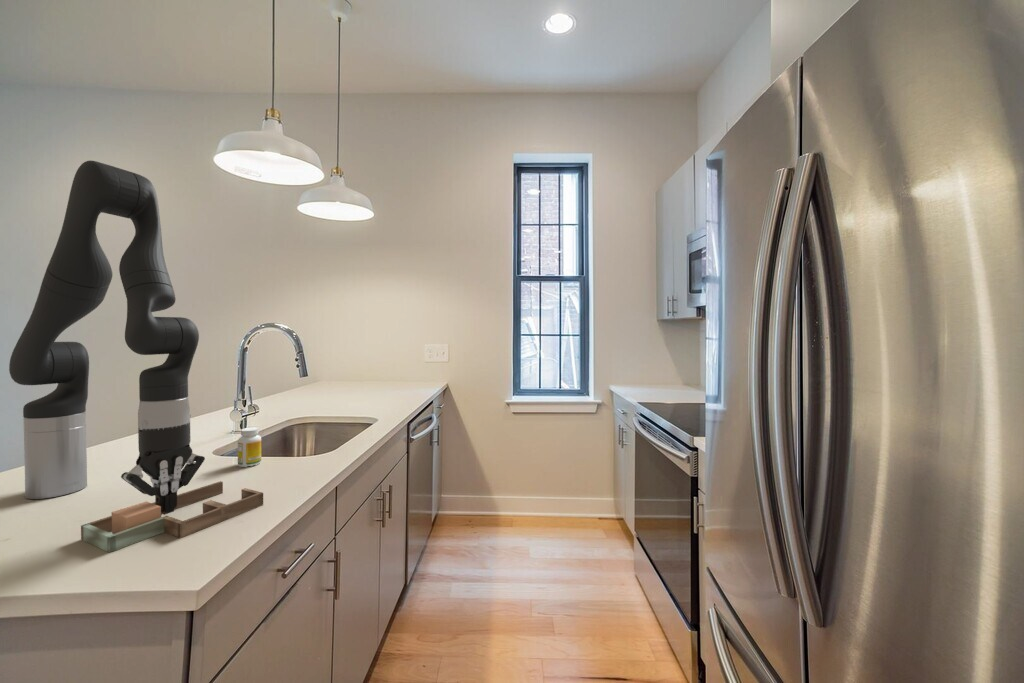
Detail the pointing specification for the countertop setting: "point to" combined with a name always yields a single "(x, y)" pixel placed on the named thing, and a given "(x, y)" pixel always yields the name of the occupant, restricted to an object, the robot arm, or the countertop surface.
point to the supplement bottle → (249, 447)
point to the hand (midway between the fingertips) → (166, 512)
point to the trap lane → (172, 519)
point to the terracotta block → (134, 516)
